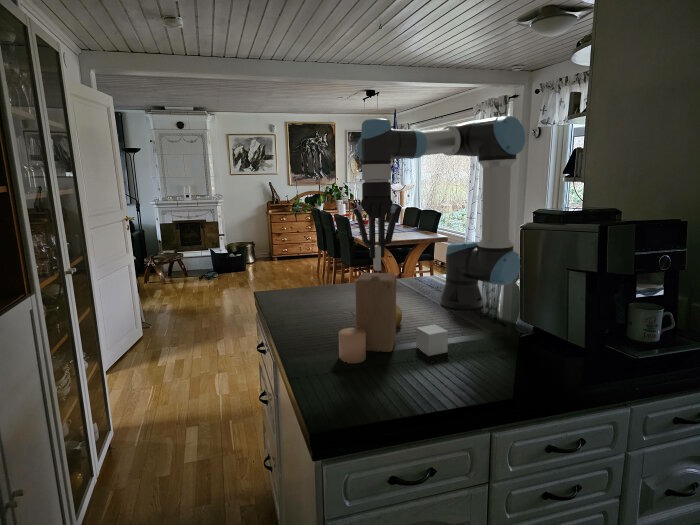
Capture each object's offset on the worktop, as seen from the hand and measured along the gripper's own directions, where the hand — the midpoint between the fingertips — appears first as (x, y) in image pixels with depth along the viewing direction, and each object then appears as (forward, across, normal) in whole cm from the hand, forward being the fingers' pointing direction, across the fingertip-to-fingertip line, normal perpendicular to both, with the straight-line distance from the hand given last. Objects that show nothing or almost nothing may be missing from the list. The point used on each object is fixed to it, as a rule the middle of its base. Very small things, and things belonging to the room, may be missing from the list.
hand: (377, 269), depth 117 cm
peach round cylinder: (+22, +8, +7) cm, 24 cm away
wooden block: (+22, 0, 0) cm, 22 cm away
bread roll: (+22, -8, -18) cm, 29 cm away
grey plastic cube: (+22, -14, +6) cm, 27 cm away
